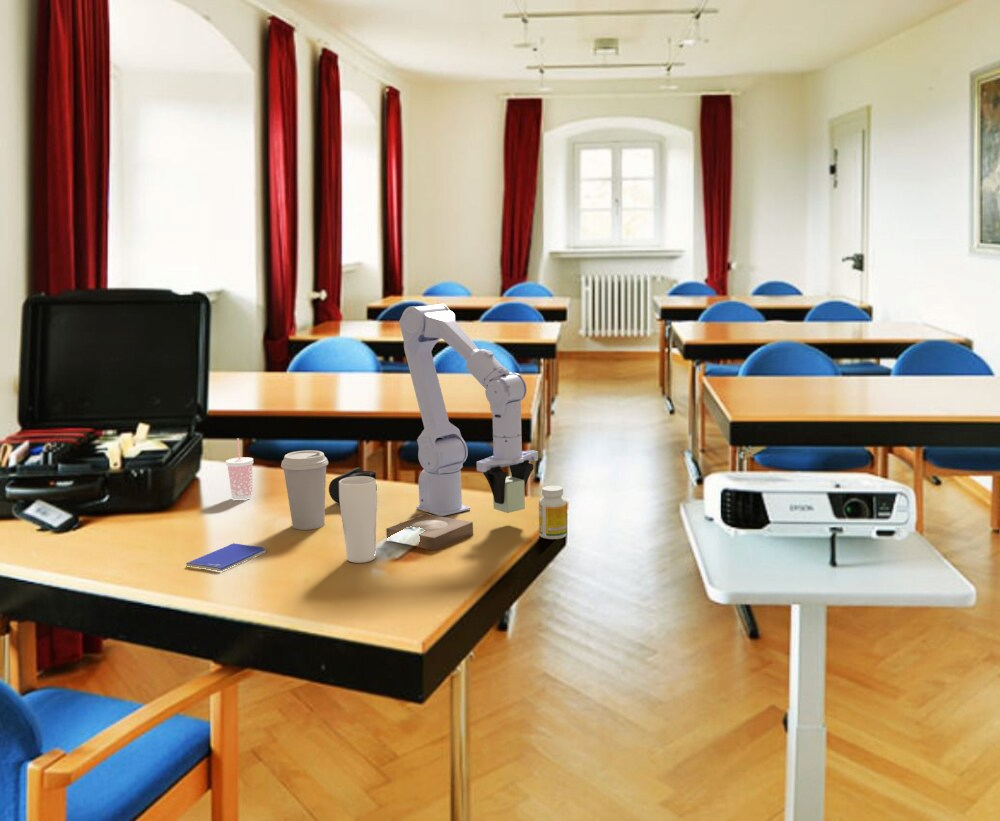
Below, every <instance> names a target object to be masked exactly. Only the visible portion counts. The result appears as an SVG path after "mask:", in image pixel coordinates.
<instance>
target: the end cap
mask: <svg viewBox="0 0 1000 821" xmlns="http://www.w3.org/2000/svg"><path fill="white" fill-rule="evenodd" d="M354 476H368V477H373V478H374V479H375V480H377V473H376V471H370V470H362V468H361V467H355V468H353V469H351V470H349V471H346V472H344V473H342V474H340V475H339V476H336V477H335V478H333V479H332V480H331V481H330V482H329V485H328V493H329V496H330V498H331V500H333V501H334V502H335V503H337V504H338V505H339V506H340V501H339V481H340V480H341V479H344V478H348V477H354ZM377 486H378V485H377V483H376V492H377V491H378V490H377V488H378V487H377Z"/></svg>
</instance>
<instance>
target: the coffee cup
mask: <svg viewBox="0 0 1000 821" xmlns="http://www.w3.org/2000/svg"><path fill="white" fill-rule="evenodd" d="M328 465H329V460H328V458H327V457H326V456H325V453H324V452H323V451H320V450H298V451H292V452H289V453H287V454H285V455H284V457H283V460H281V465H280V467H281V468H282V469H283V474H284V480H285V484H286V485H285V486H286V491H287V492H286V493H287V499H288V506H289V510H290V511H289V512H290V517H291V518H290V519H291V524H292V528H293V529H295V530H301V531H307V530H315V529H316V528H317V529H320V528H322V527H324V526H325V523H326V522H325V520H326V518H325V517H326V516H325V515H326V510H325V509H326V486H327V485H326V484H327V481H326V480H327V477H326V476H327V466H328Z"/></svg>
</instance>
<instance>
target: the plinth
mask: <svg viewBox="0 0 1000 821" xmlns="http://www.w3.org/2000/svg"><path fill="white" fill-rule="evenodd" d="M410 526H412V527H420V528H423V529H424V530H425V531H424V532H423V533H421V534H419V536H420V542H419V545H418V546H419V547H420V548H419V547H418V548H419V549H424V550H429V549H430V551H437V550H440V549H442V548H445V547H447V546H448V545H449V546H450V545H451V544H454V543H456V542H458V541H460V540H464V539H465V538H468V537H470V536H473V535H474V522H473V521H468V520H463V519H459V518H458V519H456V518H451V517H446V516H438V515H435V514H430V513H429V514H427V513H424V514H422V515H419V516H416V517H414V518H411V519H409V520H406V521H403V522H400V523H397V524H396V525H395V524H394V525H393V526H389V527H387V528H386V529H385V531H386V539H387V538H388V537H390V536H391V535H393V534H395V533H397V532H399V531H401V530H403V529H404V528H406V527H410Z"/></svg>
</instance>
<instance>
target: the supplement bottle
mask: <svg viewBox="0 0 1000 821" xmlns="http://www.w3.org/2000/svg"><path fill="white" fill-rule="evenodd" d="M541 489H542V492H541V494H542V496H543V497H540V499H539V501H538V529H539V531H538V533H539V536H540V537H541V538H543V539H547V540H561V539H563V538H565V537H566V536H567V534H568V531H567V530H568V526H567V524H568V523H567V522H568V520H567V516H568V515H567V512H568V511H567V505H568V504H567V500H566V498H565V497H563V495H564V488H563V486H560V485H547V486H543V487H542V488H541Z"/></svg>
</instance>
